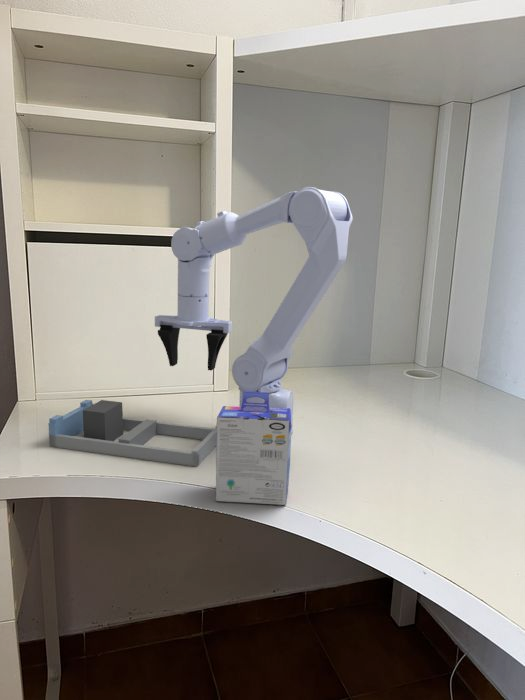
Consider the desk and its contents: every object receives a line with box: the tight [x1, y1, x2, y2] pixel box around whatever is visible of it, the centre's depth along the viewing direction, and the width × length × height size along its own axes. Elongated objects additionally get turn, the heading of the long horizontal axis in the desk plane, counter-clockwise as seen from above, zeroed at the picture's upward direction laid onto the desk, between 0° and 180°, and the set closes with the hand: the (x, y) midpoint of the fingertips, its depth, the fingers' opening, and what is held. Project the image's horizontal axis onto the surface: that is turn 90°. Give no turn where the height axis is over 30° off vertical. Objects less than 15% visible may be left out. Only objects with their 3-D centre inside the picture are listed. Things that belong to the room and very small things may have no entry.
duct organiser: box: [48, 399, 217, 468], centre depth 93 cm, size 26×12×5 cm, turn 75°
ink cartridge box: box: [215, 391, 292, 506], centre depth 75 cm, size 10×6×14 cm, turn 86°
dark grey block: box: [83, 399, 124, 442], centre depth 94 cm, size 4×6×6 cm, turn 166°
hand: (192, 367), depth 103 cm, fingers open, 7 cm apart
